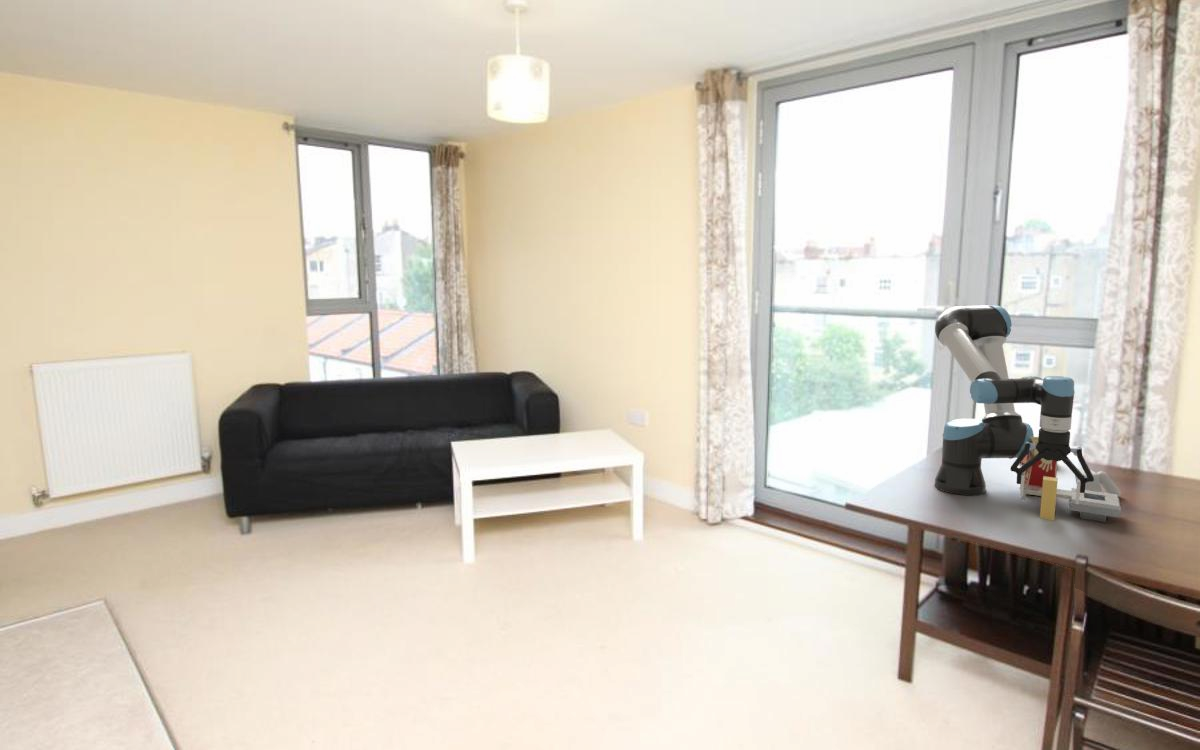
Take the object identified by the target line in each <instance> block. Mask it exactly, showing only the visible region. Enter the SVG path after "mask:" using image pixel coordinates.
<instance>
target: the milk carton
mask: <svg viewBox="0 0 1200 750" xmlns="http://www.w3.org/2000/svg"><path fill="white" fill-rule="evenodd" d="M1038 437H1039V436H1034V437H1030V438H1031V439H1032V442H1033V444H1037V443H1038ZM1038 453H1039V452H1038V451H1037V450H1036V448H1033V450H1031V451H1030V452H1029V453H1028V454H1027V458H1026V462H1025V463H1027V462H1028V461H1029V460H1030V459H1032V458H1033V457H1034V456H1036V455H1037V454H1038ZM1023 473H1025V480H1024V486H1025V484H1026V485H1033V486H1040V487H1042V486H1043V476H1046V477H1054V478H1057V474H1058V461H1053V460H1046V459H1044V458H1042V459H1041V460H1039V461H1037V462H1036V463H1035V464H1034V465H1032V466H1031V467H1030V468H1028V469H1027V470H1026V471H1024V472H1023ZM1020 488H1021V484H1019V490H1020ZM1026 495H1032V496H1037V497H1042V495H1035V494H1029V493H1026Z"/></svg>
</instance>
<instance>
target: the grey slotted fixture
mask: <svg viewBox="0 0 1200 750" xmlns="http://www.w3.org/2000/svg"><path fill="white" fill-rule="evenodd" d="M1076 490H1077V488H1074V487H1073V488H1072V487H1071V490H1067V489H1060V488H1057V493H1056V499H1057V498H1058V499H1064V500H1068V510H1070V511H1075V512H1076V511H1077V512H1079V518H1080V519H1085V520H1091V521H1096V522H1097V521H1099V522H1102V523H1104V522H1105V523H1106V521H1107V517H1113V518H1121V515H1122V514H1121V513H1122V508H1121V503H1120V502H1121V501H1120V498H1119V496H1118V497H1117V494H1110V493H1108V492H1104V491H1103V492H1096V491H1089V490H1085V492H1084V493H1080V495H1079V504H1075V500H1076ZM1026 493H1029V494H1028V495H1030V494H1035V495H1034V496H1037V495H1042V487H1040V486H1033V485H1026V484H1025V486H1024V492H1023V496H1020V500H1021V501H1026V498H1027V494H1026Z"/></svg>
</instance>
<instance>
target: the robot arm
mask: <svg viewBox="0 0 1200 750" xmlns="http://www.w3.org/2000/svg"><path fill="white" fill-rule="evenodd" d="M934 332H935V337H936V338H937V340H938V342H939V343H940V344H941V345H942V346H943V347H946V348H947V349H948V350H949V351H950V353H951V355H952V356H953V357H954V359H955V360H956V362H957V363H958V365H959V366H960V368H961V370H962V371H963V372H964V374H965V375H966V377H967V378H968V379H969V381H970V382H971V384H970V386H969V394H970V397H971V400H972V401H973V402H975V403H976V404H983V407H984V413H985V415H984V416H983V418H982V419H978V418H956V419H952V420H949V421H948V422H946V424H945V425H944V427H943V433H942V451H941V452H942V454H941V464H940V467H939V469H938V471H937V474H936V476H935V478H934V486H935V488H937V487H938V488H939V489H938V488H937V489H938V490H940V489H942V490H941V491H943V490H944V491H943V492H945V491H947V492H946V493H949V492H951V493H950V494H954V493H955V494H954V495H960V494H962V495H963V496H978V495H982V494H985V492H986V491H987V489H986V485H987V484H986V480H985V477H984V474H983V471H982V459H1011V460H1012V459H1015V461H1014V462H1013V463H1012V465H1011V466H1010V471H1011V472H1014V473H1016V484H1017V485H1020V484H1021V488H1020V487H1019V488H1020V489H1019V490H1020V491H1019V497H1021V496H1023V492H1024V480H1025V473H1023V472H1024V471H1026V470H1027V469H1028V468H1030V467H1031V466H1032V465H1034V464H1035V463H1036V462H1037V461H1039V460H1041V459H1042V458H1044V459H1046V460H1053V461H1057V462H1060V461H1062V463H1064V464H1065V466H1066V467H1067V468H1069V470H1070V472H1072V473H1073V474H1074V476H1075V475H1076V477H1077V478H1078V479H1079V480H1077V483H1076V489H1077V490H1076V500H1075V504H1079V495H1080V493H1084V492H1085V484H1086V482H1093V481H1094V477H1093V475H1092V473H1091V471H1090V470H1091V469H1090V467H1089V465H1088V463H1087V461H1086V460H1085V457H1084V456H1083V448H1082V447H1081V446H1078V447H1070V440H1071V432H1070V430H1071V429H1072V421H1073V419H1072V417H1073V415H1072V414H1073V406H1074V399H1075V393H1076V392H1075V381H1074V379H1073V378H1071V377H1068V376H1062V375H1061V376H1060V375H1048V376H1045V377H1044V378H1041V377H1039V376H1032V375H1026V376H1023V377H1021V378H1010V377H1009V374H1008V367H1007V362H1006V358H1005V352H1004V346H1003V345H1004V344H1005V343H1006V341H1007V337H1009V335H1010V333H1011V332H1012V319H1011V316H1010V314H1009V312H1008V310H1007V309H1006V308H1004V307H1003V306H1001V305H992V304H991V305H990V304H987V305H986V304H985V305H966V306H965V305H964V306H962V305H959V306H953V307H950V308H947V309H945V310H944V311H943V312H941V314H940V315H939V317H938V318H937V320H936V322H935V327H934ZM1028 403H1029V404H1030V403H1031V404H1037V405H1040V415H1039V429H1038V436H1037V437H1038V443H1037V444H1033V442H1032V439H1031V438H1030V437H1035V436H1034V430H1033V428H1032V427H1031V425H1030V424H1029V423H1028V422H1023V418H1022V415H1021V414H1019V413H1018V412H1016V410H1015V405H1014V404H1028ZM1033 448H1036V450H1037V451H1038V452H1039V453H1038V454H1037V455H1036V456H1034V457H1033V458H1032V459H1030V460H1029V461H1028V462H1027V463H1025V464H1022V465H1021V466H1020V464H1021V463H1022V460H1023V459H1024V458H1025V456H1026V455H1027V454H1028V453H1029V452H1030V451H1031V450H1033ZM1070 453H1072V454H1073V455H1074V456H1076V458H1077V460H1078V461H1079V464H1080V466H1081V469H1082V468H1083V470H1084V472H1085V474H1086V477H1084V475H1083V474H1082V473H1081V472H1080V471H1079V470H1078V469H1079V468H1078V467H1077V466H1076V465H1075V464H1074V463H1073V462H1072V460H1070V458H1069V457H1068V455H1070ZM962 495H961V496H962Z"/></svg>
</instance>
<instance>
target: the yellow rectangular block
mask: <svg viewBox="0 0 1200 750" xmlns="http://www.w3.org/2000/svg"><path fill="white" fill-rule="evenodd" d="M1058 479H1059V478H1058V477H1056V478H1054V477H1046V476H1043V486H1042V496H1041V499H1040V500H1041V501H1040V510H1039V511H1040V513H1039V518H1040V519H1044V520H1050V521H1055V511H1056V501H1057V498H1056V493H1057V489H1058V481H1059V480H1058Z"/></svg>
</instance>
